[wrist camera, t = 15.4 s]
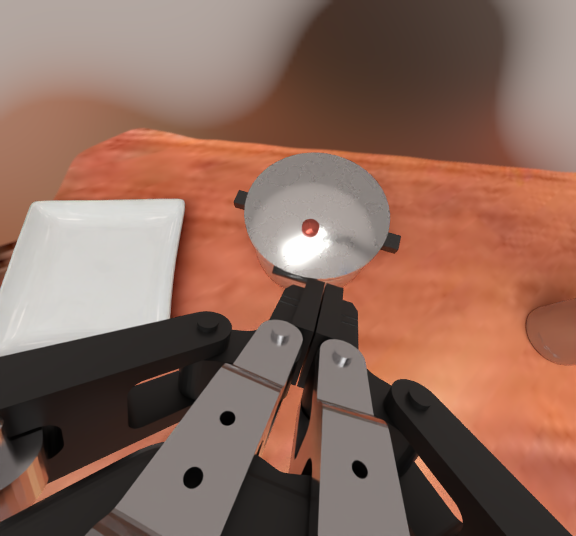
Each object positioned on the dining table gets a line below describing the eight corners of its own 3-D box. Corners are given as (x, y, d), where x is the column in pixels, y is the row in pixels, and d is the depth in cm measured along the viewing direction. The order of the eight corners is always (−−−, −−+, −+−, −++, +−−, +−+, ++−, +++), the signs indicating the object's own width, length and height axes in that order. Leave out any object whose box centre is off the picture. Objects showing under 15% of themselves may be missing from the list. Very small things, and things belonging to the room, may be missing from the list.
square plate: (47, 211, 52) (28, 199, 48) (192, 209, 52) (185, 196, 48) (-4, 362, 42) (-32, 362, 38) (174, 359, 42) (163, 357, 39)
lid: (369, 305, 36) (374, 301, 34) (221, 258, 38) (217, 252, 36) (398, 177, 43) (404, 167, 41) (272, 144, 45) (272, 134, 43)
